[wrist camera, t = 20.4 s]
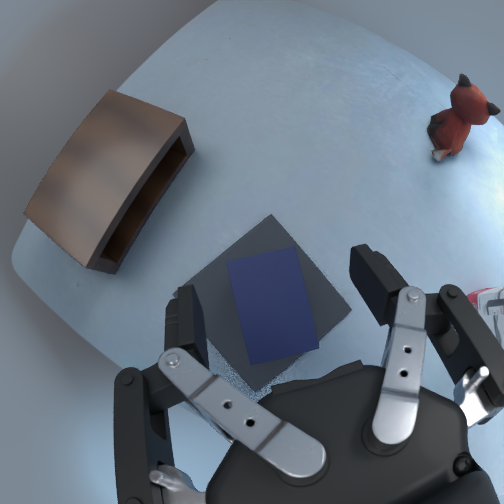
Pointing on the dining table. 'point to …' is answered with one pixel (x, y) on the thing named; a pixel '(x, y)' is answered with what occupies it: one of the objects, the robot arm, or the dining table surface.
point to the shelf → (110, 179)
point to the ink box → (491, 309)
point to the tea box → (272, 305)
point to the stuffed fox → (459, 118)
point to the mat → (225, 312)
